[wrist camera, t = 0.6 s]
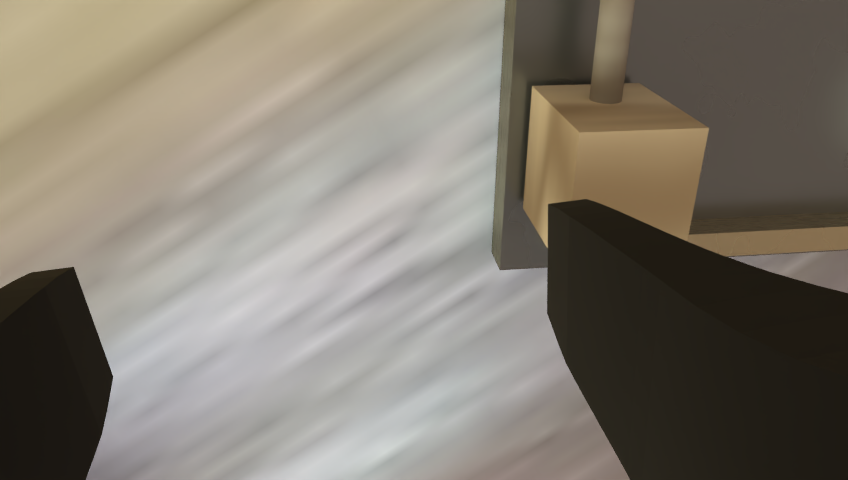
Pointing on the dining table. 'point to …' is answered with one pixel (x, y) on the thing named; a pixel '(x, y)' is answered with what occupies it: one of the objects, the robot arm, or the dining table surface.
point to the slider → (613, 141)
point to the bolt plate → (702, 113)
